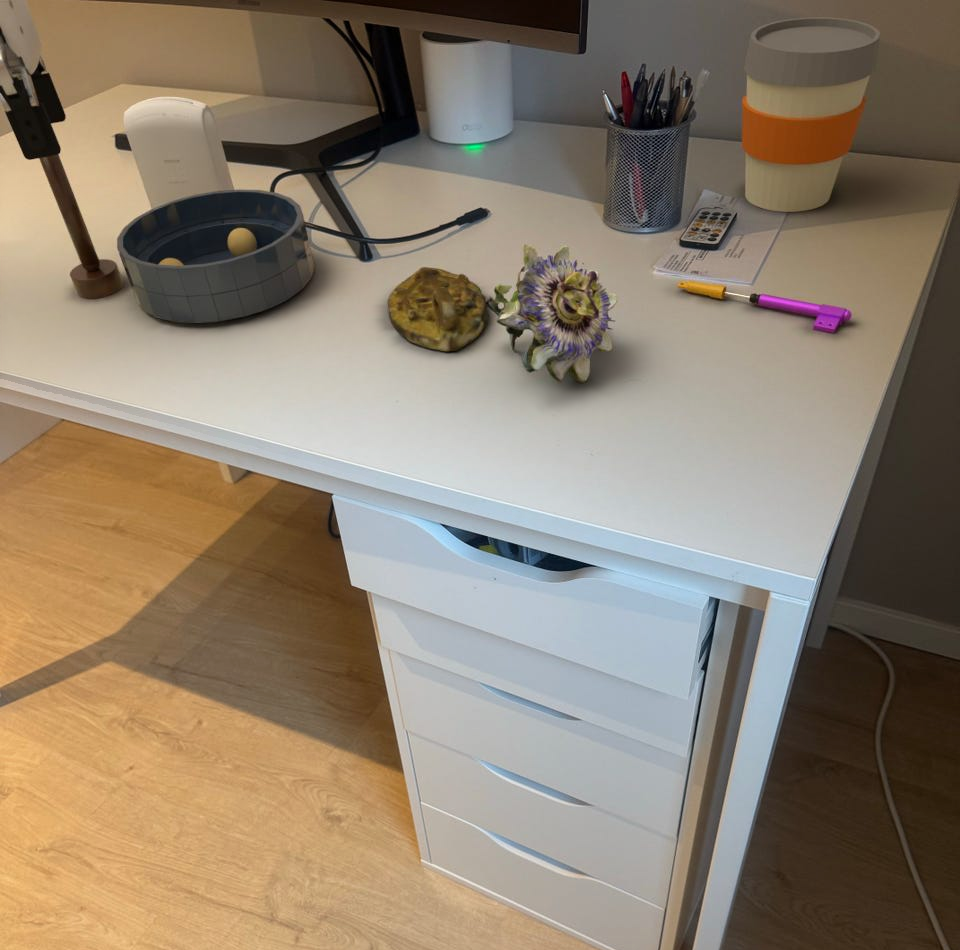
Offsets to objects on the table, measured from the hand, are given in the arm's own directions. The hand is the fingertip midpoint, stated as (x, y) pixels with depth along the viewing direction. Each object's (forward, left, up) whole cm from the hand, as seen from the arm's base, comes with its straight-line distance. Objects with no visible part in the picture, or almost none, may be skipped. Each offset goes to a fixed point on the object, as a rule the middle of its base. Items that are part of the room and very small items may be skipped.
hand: (47, 138), depth 84 cm
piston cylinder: (+59, -31, -15) cm, 68 cm away
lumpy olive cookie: (+32, -20, -15) cm, 40 cm away
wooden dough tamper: (0, 0, -14) cm, 14 cm away
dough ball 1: (+8, -5, -12) cm, 15 cm away
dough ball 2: (+15, -1, -12) cm, 19 cm away
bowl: (+13, -5, -14) cm, 20 cm away
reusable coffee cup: (+74, -9, -15) cm, 75 cm away
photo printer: (+11, +15, -15) cm, 23 cm away
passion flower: (+39, -32, -15) cm, 52 cm away
